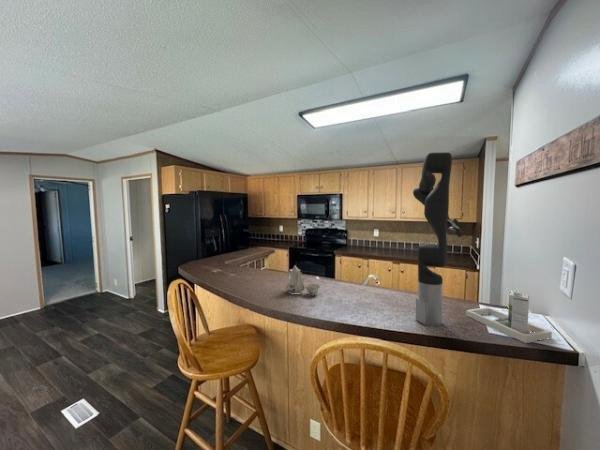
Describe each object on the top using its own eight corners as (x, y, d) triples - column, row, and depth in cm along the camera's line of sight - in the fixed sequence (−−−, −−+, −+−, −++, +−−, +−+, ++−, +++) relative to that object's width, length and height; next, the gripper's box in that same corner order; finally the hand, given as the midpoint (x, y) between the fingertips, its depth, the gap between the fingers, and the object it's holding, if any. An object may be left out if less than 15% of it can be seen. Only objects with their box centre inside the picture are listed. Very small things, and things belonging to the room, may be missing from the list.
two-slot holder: (525, 343, 90) (525, 335, 90) (465, 315, 114) (466, 309, 113) (551, 338, 93) (551, 331, 93) (488, 312, 116) (488, 306, 116)
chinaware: (325, 298, 144) (327, 269, 144) (300, 301, 135) (302, 270, 135) (298, 286, 167) (300, 261, 167) (276, 288, 158) (277, 261, 158)
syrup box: (507, 326, 102) (509, 291, 101) (527, 330, 98) (528, 294, 97) (507, 331, 98) (508, 295, 97) (528, 336, 94) (529, 298, 93)
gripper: (428, 207, 128) (443, 231, 118) (453, 207, 130) (470, 231, 120) (421, 217, 134) (435, 241, 123) (445, 217, 136) (461, 240, 125)
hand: (453, 236), depth 122 cm, fingers open, 8 cm apart
